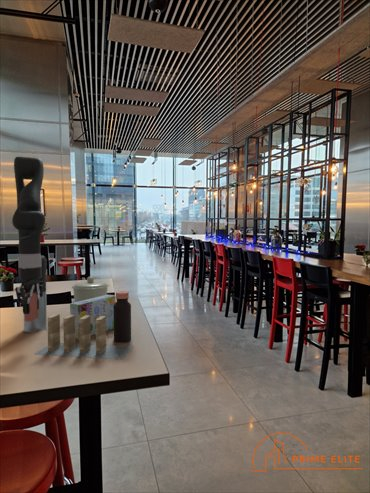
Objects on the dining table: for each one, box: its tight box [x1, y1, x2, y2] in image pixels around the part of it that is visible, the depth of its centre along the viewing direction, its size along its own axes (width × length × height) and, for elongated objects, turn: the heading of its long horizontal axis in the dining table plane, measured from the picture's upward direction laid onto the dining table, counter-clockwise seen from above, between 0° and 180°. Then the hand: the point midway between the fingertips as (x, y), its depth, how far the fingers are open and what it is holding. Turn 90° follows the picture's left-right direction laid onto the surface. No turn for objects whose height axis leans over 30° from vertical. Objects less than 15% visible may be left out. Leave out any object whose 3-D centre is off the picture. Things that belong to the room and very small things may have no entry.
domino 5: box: [95, 316, 107, 354], centre depth 112 cm, size 2×5×12 cm, turn 172°
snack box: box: [69, 294, 117, 340], centre depth 135 cm, size 21×6×15 cm, turn 149°
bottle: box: [113, 290, 132, 344], centre depth 123 cm, size 7×7×20 cm
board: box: [34, 342, 134, 360], centre depth 113 cm, size 32×12×1 cm, turn 82°
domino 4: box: [79, 315, 92, 353], centre depth 112 cm, size 2×5×12 cm, turn 172°
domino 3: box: [62, 314, 76, 352], centre depth 113 cm, size 2×5×12 cm, turn 172°
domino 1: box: [25, 292, 38, 322], centre depth 115 cm, size 2×5×12 cm, turn 173°
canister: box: [71, 276, 110, 303], centre depth 160 cm, size 18×18×21 cm
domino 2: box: [47, 313, 61, 351], centre depth 114 cm, size 2×5×12 cm, turn 172°
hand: (31, 311), depth 115 cm, fingers closed on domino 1, 5 cm apart
